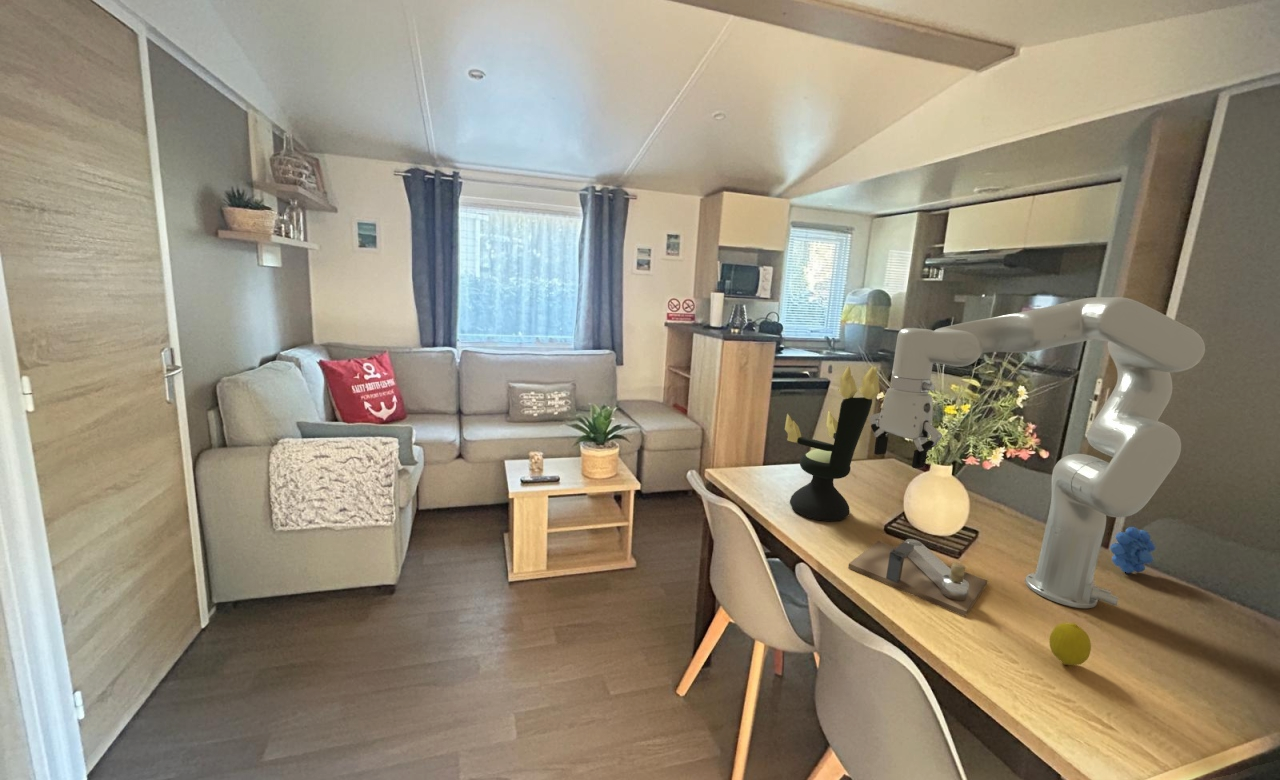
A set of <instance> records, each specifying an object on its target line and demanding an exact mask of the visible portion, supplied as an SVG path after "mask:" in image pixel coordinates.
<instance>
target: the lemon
mask: <svg viewBox="0 0 1280 780" xmlns="http://www.w3.org/2000/svg"><path fill="white" fill-rule="evenodd" d="M1091 647H1092V644H1091V639H1090V637H1089V635H1088V633H1087V632H1086V631H1085V630H1084V629H1083V628H1082V627H1080V626H1079V625H1078V624H1077V623H1075V622H1072V623H1071V622H1062V623H1058V624H1057V625H1056V626H1055V627H1054V628H1053V629H1052V631H1051V633H1050V636H1049V648H1050V650H1051V653H1053V655H1054V657H1056V658H1057V659H1058V660H1059V661H1060V662H1061V663H1062V664H1063V665H1065V666H1069V665H1071V666H1079V665H1081V664H1083V663H1085V662H1086V661H1087V660H1088V658H1089V657H1090V656H1091V655H1090V654H1091Z"/></svg>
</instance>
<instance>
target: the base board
mask: <svg viewBox="0 0 1280 780" xmlns="http://www.w3.org/2000/svg"><path fill="white" fill-rule="evenodd" d="M896 547H897V546H894V545H891V544H888V543H886V542H883V541H880V540H877V541H876V542H875V543H873V544H872V545H871V546H870V547H868V548H867V549H866V550H864V551H863V552H862V553H860V554H859V555H857V557H855V558H854V559H853V560H851V561H849V563H848V569H849V570H852V571H854V572H857V573H859V574H861V575H864V576H866V577H869V578H871V579H872V580H873V579H874V580H876V581H878V582H881V583H883V584H886V585H887V586H889V587H892V588H896V589H898V590H900V591H902V592H903V593H904V592H905V593H907V594H909V595H912V596H914V597H917V598H919V599H922V600H924V601H926V602H928V603H931V604H934V605H936V606H939V607H941V608H943V609H946V610H948V611H950V612H953V613H954V614H957V615H960V616H962V617H964V618H965V617H967V615H968V614H969V612H970V611H971V610H972V607H973V606H974V604H975V603H976V601H978V598H980V595H981V594H982V593H983V591H984V589H985V588H986V587H987V584H988V579H985V578H983V577H980V576H977V575H975V574H974V575H973V574H971V573H968V572H967V571H966V566H965V565H963V564H962V563H957V562H953V563H952V564H951V566H949V565H947V566H948V567H949V568H950V569H951V573H950V579H952V580H953V581H956V582H963V579H965V580H966V581H967V582H968V583H969V589H968V594H967V599H966V600H955V599H952V598H949V597H947V596H945V595H944V594H943V593H942V592H941V589H940V588H939V587H938V586H937V585H936V584H935V583H934V582H933V581H932V580H931V579H930V578H929V577H928V576H927V575H926V574H925V573H924V572H923V571H922V570H921V569H920V568H919V567H918V566H917V565H916V564H915V563H914V562H913V561H912V560H911V559H910V558H909V557H908V556H907V557H906V558H905V559H904V562H903V568H902V574H901V580H900V581H899V582H898V583H896V582H894V581H891V580H889V579H886V575H887V569H888V563H889V556H890V552H891V551H893V550H894V549H895V548H896Z"/></svg>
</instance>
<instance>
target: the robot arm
mask: <svg viewBox="0 0 1280 780" xmlns="http://www.w3.org/2000/svg"><path fill="white" fill-rule="evenodd" d="M896 338H897V339H896V344H895V345H896V346H895V351H894V359H893V366H892V372H891V379H890V386H889V388H887V389H886V392H885V395H884V398H883V401H882V404H881V405H882V406H881V410H880V412H878V413H874V414H871V415H870V414H869V415H868V416H869V417H868V418H869V422H870V424H871V425H870V427H871V428H870V429H871V430H872V431H873V437H875V444H874V451H873V454H874V455H877V456H878V455H884V454H885V455H886V454H887V448H888V442H889V441H888V440H889V437H888V436H887V435H889V434H891V435H895V436H897V437H901V438H904V439H908V440H911V441H912V442H913V443H914V445H915V447H916V448H917V449H915V450H914V451H913V456H912V457H913V458H912V463H911V467H912V468H913V469H920V468H924V467H925V465H926V463H927V462H926V461H927V457H928V456H927V455H928V451H930V450H931V449H933V448H934V447H935V446H937V444H938V443H939V441H940V440H941V439H943V434H942V432H940V431H939V430H938V429H936V428H935V427H934V426H933V417H934V416H933V415H934V405H933V403H934V402H933V395H932V394H930V393H929V392H930V391H934V389H935V385H934V384H932V383H931V379H932V372H933V366H934V364H940V365H945V366H950V367H959V368H960V367H966V366H969V365H972V364H974V363H975V362H976V361H978V360H979V358H980V357H981V355H982V354H983V353H986V354H987V353H1018V354H1019V353H1030V352H1031V353H1032V352H1038V351H1043V350H1047V349H1052V348H1056V347H1062V346H1067V345H1071V344H1077V343H1081V342H1087V341H1095V340H1096V341H1101V342H1102V341H1103V342H1107V350H1108V353H1109V356H1110V358H1111V359H1112V361H1113V363H1114V365H1115V368H1116V372H1117V381H1116V384H1115V386H1114V388H1113V390H1112V392H1111V394H1110V395H1109V397H1108V398H1107V400H1106V402H1105V403H1104V405H1103V406H1102V408H1101V409H1100V411H1098V414H1097V415H1096V417H1095V418H1094V420H1093V421H1092V423H1091V424H1090V426H1089V428H1088V430H1087V434H1086V439H1087V442H1088V444H1089V445H1090V446H1091V447H1092V448H1094V450H1097V451H1099V452H1100V453H1103V454H1104V455H1107V456H1109V457H1112V458H1111V460H1110V461H1109V462H1108V461H1105V460H1103V459H1101V458H1099V457H1096V456H1093V455H1090V454H1085V453H1084V454H1083V453H1073V454H1069V455H1064V456H1063V457H1062V458H1060V459H1059V460H1058V461H1057V462H1056V464H1055V465H1054V467H1053V469H1052V474H1051V500H1050V505H1049V512H1048V516H1047V520H1046V525H1045V529H1044V533H1043V538H1042V542H1041V546H1040V547H1041V549H1040V552H1039V557H1038V561H1037V566H1036V570H1035V572H1031V573H1029V574H1027V575H1026V577H1025V581H1024V582H1025V584H1026V586H1027V587H1028V588H1029V589H1030V590H1031V591H1033V592H1035V593H1036V594H1038V595H1039V596H1041V597H1044V598H1045V599H1047V600H1049V601H1052V602H1055V603H1057V604H1061V605H1064V606H1067V607H1070V608H1071V607H1072V608H1077V609H1090V608H1091V609H1092V608H1094V607H1096V606H1097V605H1098V602H1099V601H1102V602H1104V603H1107V604H1109V605H1113V606H1115V607H1117V606H1118V602H1119V596H1118V595H1113V594H1112V591H1111V590H1108V589H1105V588H1101V587H1098V585H1096V584H1095V580H1096V579H1095V578H1094V575H1095V571H1096V568H1097V563H1098V559H1099V555H1100V550H1101V547H1102V543H1103V539H1104V535H1105V530H1106V526H1107V516H1108V517H1110V518H1111V517H1112V518H1127V517H1131V516H1133V515H1135V514H1137V513H1138V512H1140V511H1141V510H1142V509H1143V508H1144V507H1145V506H1146V505H1147V504H1148V503H1149V502H1150V500H1151V499H1152V497H1153V496H1154V495H1155V493H1156V492H1157V491H1158V489H1159V488H1160V486H1161V485H1162V484H1163V482H1164V481H1165V479H1166V478H1167V477H1168V475H1169V474H1170V473H1171V471H1172V469H1174V467H1175V465H1176V464H1177V462H1178V460H1179V458H1180V455H1181V451H1182V442H1181V441H1182V439H1181V438H1180V436H1179V434H1178V433H1177V431H1176V430H1175V429H1174V428H1172V427H1171V426H1170V425H1168V424H1166V423H1164V422H1162V421H1159V419H1160V417H1161V416H1162V414H1163V412H1164V410H1165V409H1166V407H1167V406H1168V404H1169V402H1170V400H1171V397H1172V394H1173V380H1172V375H1171V373H1179V372H1184V371H1187V370H1190V369H1192V368H1194V367H1195V366H1196V365H1197V364H1199V363H1200V362H1201V361H1202V359H1203V357H1204V355H1205V352H1206V345H1205V341H1204V339H1203V338H1202V337H1201V335H1200V333H1198V332H1196V331H1195V330H1194V329H1193V328H1191V327H1189V326H1187V325H1185V324H1183V323H1181V322H1180V321H1177V320H1176V319H1173V318H1171V317H1170V316H1168V315H1165V314H1164V313H1162V312H1160V311H1158V310H1156V309H1154V308H1152V307H1150V306H1148V305H1146V304H1144V303H1142V302H1140V301H1137V300H1134V299H1132V298H1128V297H1116V296H1114V297H1113V296H1111V297H1110V296H1107V297H1106V296H1105V297H1104V296H1103V297H1102V296H1097V297H1095V296H1094V297H1087V298H1086V297H1085V298H1080V299H1076V300H1070V301H1067V302H1063V303H1059V304H1053V305H1049V306H1044V307H1039V308H1035V309H1031V310H1025V311H1020V312H1016V313H1015V312H1014V313H1010V314H1009V313H1008V314H1004V315H999V316H993V317H989V318H982V319H976V320H971V321H966V322H961V323H957V324H952V325H948V326H942V327H939V328H936V329H935V330H932V329H930V328H929V329H927V328H918V327H915V328H914V327H905V328H902V329H900V330H899V331H898V334H897V337H896ZM928 439H929V440H928ZM1098 600H1099V601H1098Z"/></svg>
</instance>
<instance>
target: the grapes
mask: <svg viewBox="0 0 1280 780" xmlns="http://www.w3.org/2000/svg"><path fill="white" fill-rule="evenodd" d="M1115 539H1116V542H1114V543H1112V544H1110V546H1109V547H1110V551H1111V554H1113V555H1112V557H1111V561H1112V563H1113V565H1114V566H1116V567H1119V568H1120V570H1121V571H1122V572H1124V573H1125V572H1126V573H1125V574H1131V573H1133V572H1137V573H1140V572H1143V571H1145V570H1146V565H1145V564H1151V563H1152V562H1154V556H1153V554H1152V553H1151V552H1154V551H1155V550H1156V545H1155V543H1154V542H1153V541H1152V540H1151V535H1150V533H1149V532H1148V531H1146V530H1144V529H1139V528H1137V527H1135V526H1129V527H1128V528H1126V529H1125V532H1124V531H1121V532H1117V533H1116V534H1115Z"/></svg>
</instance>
